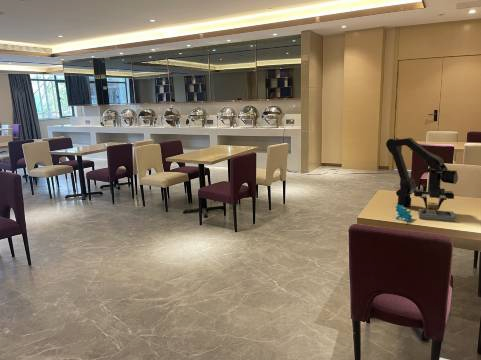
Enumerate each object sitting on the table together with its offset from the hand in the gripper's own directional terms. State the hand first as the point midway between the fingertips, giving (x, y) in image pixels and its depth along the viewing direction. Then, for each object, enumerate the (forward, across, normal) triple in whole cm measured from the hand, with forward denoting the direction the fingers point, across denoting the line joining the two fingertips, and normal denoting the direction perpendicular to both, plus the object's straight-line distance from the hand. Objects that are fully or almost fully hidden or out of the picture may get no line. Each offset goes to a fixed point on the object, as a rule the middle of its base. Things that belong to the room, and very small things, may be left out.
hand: (432, 209), depth 199 cm
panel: (+1, +1, -11) cm, 11 cm away
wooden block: (+1, 0, 0) cm, 1 cm away
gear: (+1, -14, -20) cm, 24 cm away
